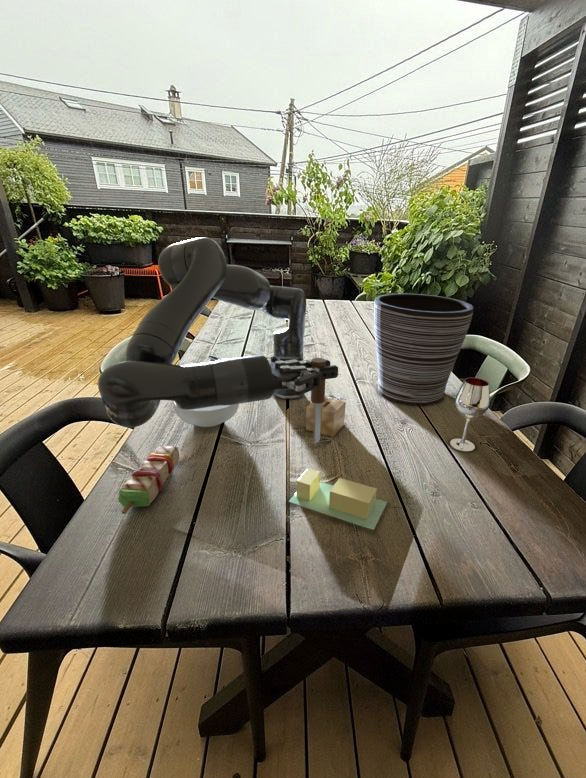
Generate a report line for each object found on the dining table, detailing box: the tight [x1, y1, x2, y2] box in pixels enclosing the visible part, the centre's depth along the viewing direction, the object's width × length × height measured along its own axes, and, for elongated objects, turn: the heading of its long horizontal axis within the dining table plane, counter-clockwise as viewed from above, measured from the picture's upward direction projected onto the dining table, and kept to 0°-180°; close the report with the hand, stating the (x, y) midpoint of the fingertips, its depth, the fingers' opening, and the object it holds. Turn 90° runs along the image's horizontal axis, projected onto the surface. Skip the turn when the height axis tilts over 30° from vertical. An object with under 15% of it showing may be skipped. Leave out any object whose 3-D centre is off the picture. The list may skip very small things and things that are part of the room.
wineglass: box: [449, 377, 491, 453], centre depth 101 cm, size 8×8×18 cm
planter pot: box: [373, 293, 475, 406], centre depth 129 cm, size 30×30×30 cm
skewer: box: [118, 444, 180, 515], centre depth 81 cm, size 21×6×5 cm, turn 178°
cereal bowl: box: [172, 401, 240, 428], centre depth 108 cm, size 17×17×7 cm
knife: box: [310, 357, 327, 446], centre depth 75 cm, size 3×3×17 cm
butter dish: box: [288, 477, 388, 531], centre depth 79 cm, size 18×9×5 cm, turn 67°
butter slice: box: [296, 468, 322, 501], centre depth 82 cm, size 3×5×4 cm, turn 157°
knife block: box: [305, 396, 347, 438], centre depth 108 cm, size 8×8×7 cm
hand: (332, 368), depth 73 cm, fingers closed on knife, 2 cm apart
